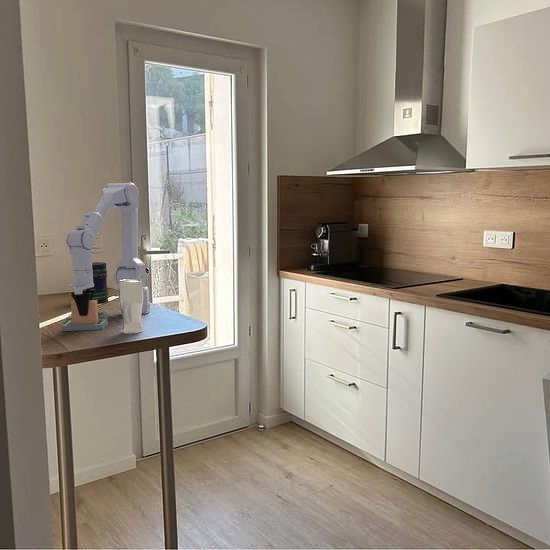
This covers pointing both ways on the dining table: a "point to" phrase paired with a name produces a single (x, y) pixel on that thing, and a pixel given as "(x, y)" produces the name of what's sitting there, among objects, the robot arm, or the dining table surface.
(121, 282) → the beer glass
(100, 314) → the grey rectangular open frame
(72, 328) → the grey picture frame
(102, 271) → the storage jar
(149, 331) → the dining table surface
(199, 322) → the dining table surface
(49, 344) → the dining table surface
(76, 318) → the terracotta block
